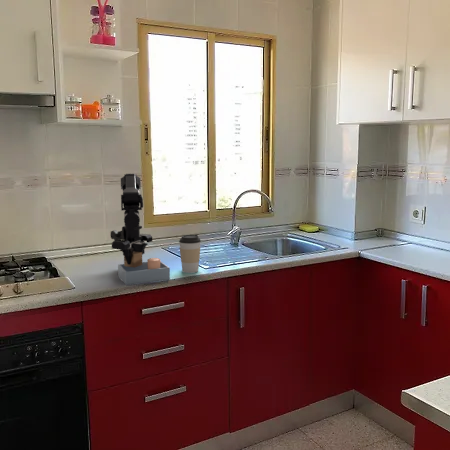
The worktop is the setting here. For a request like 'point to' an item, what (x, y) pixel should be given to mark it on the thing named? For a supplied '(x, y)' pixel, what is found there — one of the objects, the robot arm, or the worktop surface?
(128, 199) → the robot arm
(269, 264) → the worktop surface
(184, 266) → the coffee cup
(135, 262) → the cube
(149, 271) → the tote
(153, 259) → the pink rectangular block
